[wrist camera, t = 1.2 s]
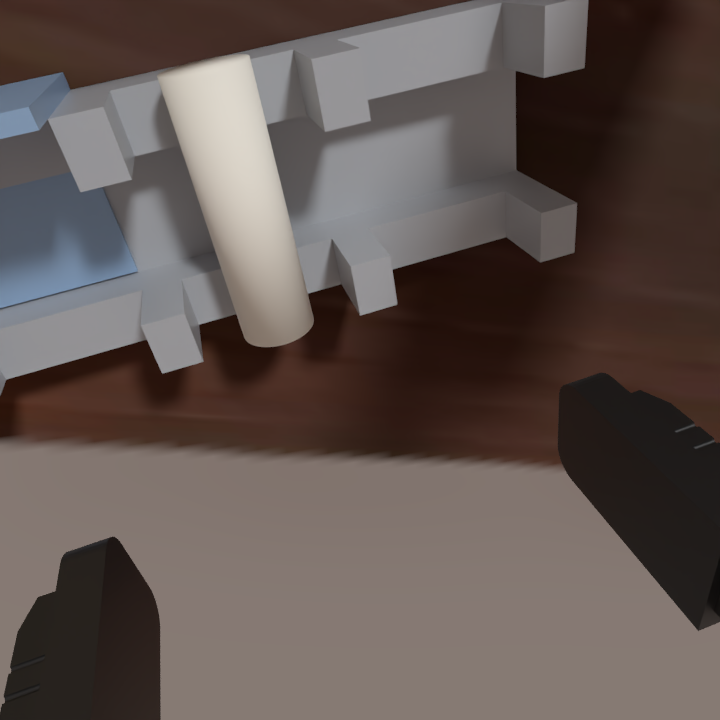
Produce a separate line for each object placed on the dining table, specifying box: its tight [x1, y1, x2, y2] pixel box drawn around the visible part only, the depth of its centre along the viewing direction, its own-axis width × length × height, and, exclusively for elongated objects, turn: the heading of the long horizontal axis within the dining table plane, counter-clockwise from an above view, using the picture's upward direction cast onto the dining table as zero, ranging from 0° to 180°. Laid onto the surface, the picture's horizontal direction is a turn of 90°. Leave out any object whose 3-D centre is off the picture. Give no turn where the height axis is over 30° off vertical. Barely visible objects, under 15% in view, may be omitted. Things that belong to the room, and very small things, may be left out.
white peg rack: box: [0, 0, 588, 395], centre depth 22 cm, size 10×26×7 cm, turn 100°
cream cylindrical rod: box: [157, 54, 314, 347], centre depth 22 cm, size 10×3×3 cm, turn 10°
